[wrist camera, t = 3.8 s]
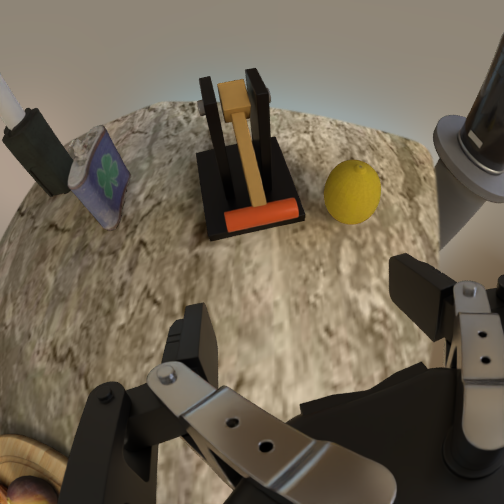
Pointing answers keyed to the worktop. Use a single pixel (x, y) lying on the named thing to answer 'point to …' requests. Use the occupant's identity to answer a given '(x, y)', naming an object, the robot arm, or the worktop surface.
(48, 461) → the wooden plate
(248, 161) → the valve lever
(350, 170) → the lemon
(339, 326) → the worktop surface
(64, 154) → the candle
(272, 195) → the black lever stand
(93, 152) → the flask
